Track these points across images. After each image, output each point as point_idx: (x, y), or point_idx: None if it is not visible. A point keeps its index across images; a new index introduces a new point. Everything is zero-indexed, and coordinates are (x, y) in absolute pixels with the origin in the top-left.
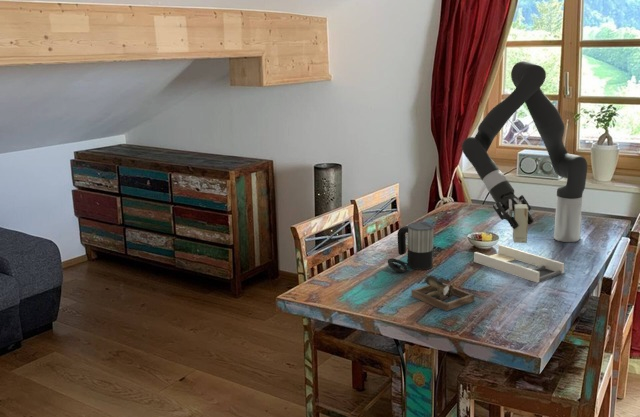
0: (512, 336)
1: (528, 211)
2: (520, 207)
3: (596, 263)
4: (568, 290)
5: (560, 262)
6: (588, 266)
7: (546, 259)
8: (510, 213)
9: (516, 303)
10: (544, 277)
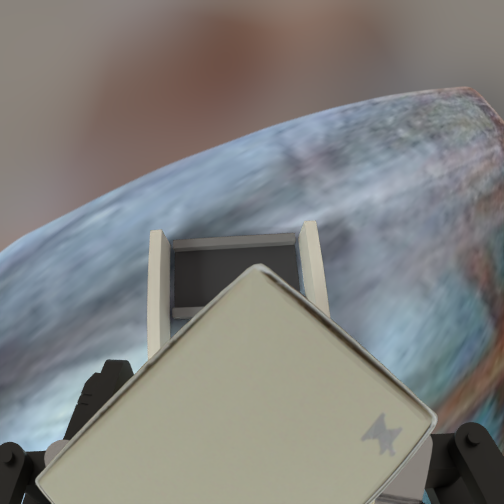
0: (486, 123)
1: (63, 441)
2: (335, 415)
3: (29, 244)
4: (275, 153)
5: (152, 243)
6: (59, 241)
7: (159, 303)
8: (405, 466)
9: (440, 182)
10: (269, 235)
